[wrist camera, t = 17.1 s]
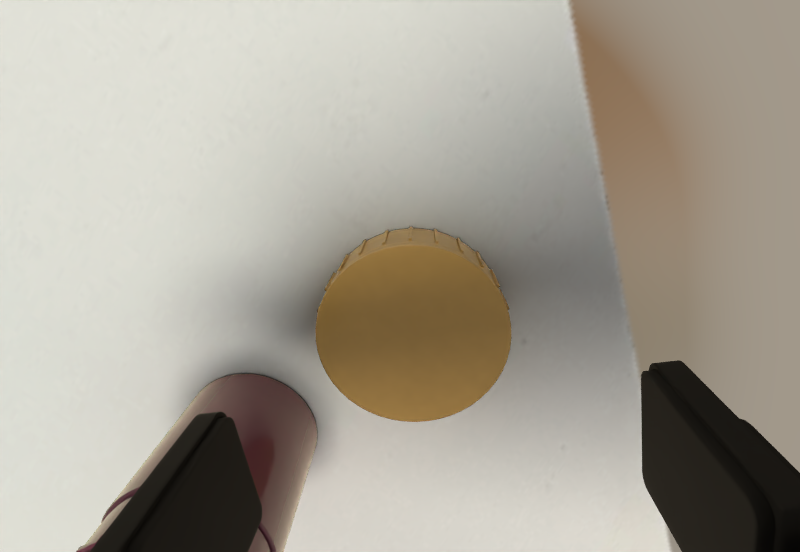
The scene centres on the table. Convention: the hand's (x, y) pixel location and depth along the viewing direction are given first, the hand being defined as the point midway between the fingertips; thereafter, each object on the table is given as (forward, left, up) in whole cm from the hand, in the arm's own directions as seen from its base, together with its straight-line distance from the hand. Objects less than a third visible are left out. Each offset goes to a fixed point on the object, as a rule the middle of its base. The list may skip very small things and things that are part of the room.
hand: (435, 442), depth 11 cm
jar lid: (+1, 0, -6) cm, 6 cm away
